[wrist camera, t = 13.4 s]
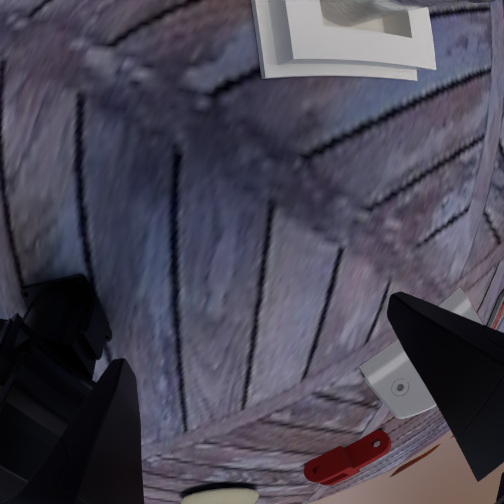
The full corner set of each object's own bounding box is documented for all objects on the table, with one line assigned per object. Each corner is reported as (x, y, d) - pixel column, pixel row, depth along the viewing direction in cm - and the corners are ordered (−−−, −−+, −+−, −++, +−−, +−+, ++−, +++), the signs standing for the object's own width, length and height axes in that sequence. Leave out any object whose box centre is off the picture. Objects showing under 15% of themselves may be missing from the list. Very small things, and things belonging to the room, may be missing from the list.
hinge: (461, 285, 31) (508, 343, 25) (456, 299, 35) (497, 352, 28) (356, 368, 33) (397, 435, 26) (360, 373, 36) (397, 433, 30)
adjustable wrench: (520, 277, 37) (528, 283, 35) (468, 381, 49) (473, 387, 47) (498, 285, 36) (507, 292, 34) (442, 394, 47) (448, 401, 46)
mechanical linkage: (314, 469, 49) (322, 489, 44) (300, 464, 45) (308, 486, 41) (386, 431, 47) (397, 450, 43) (379, 421, 44) (391, 443, 39)
